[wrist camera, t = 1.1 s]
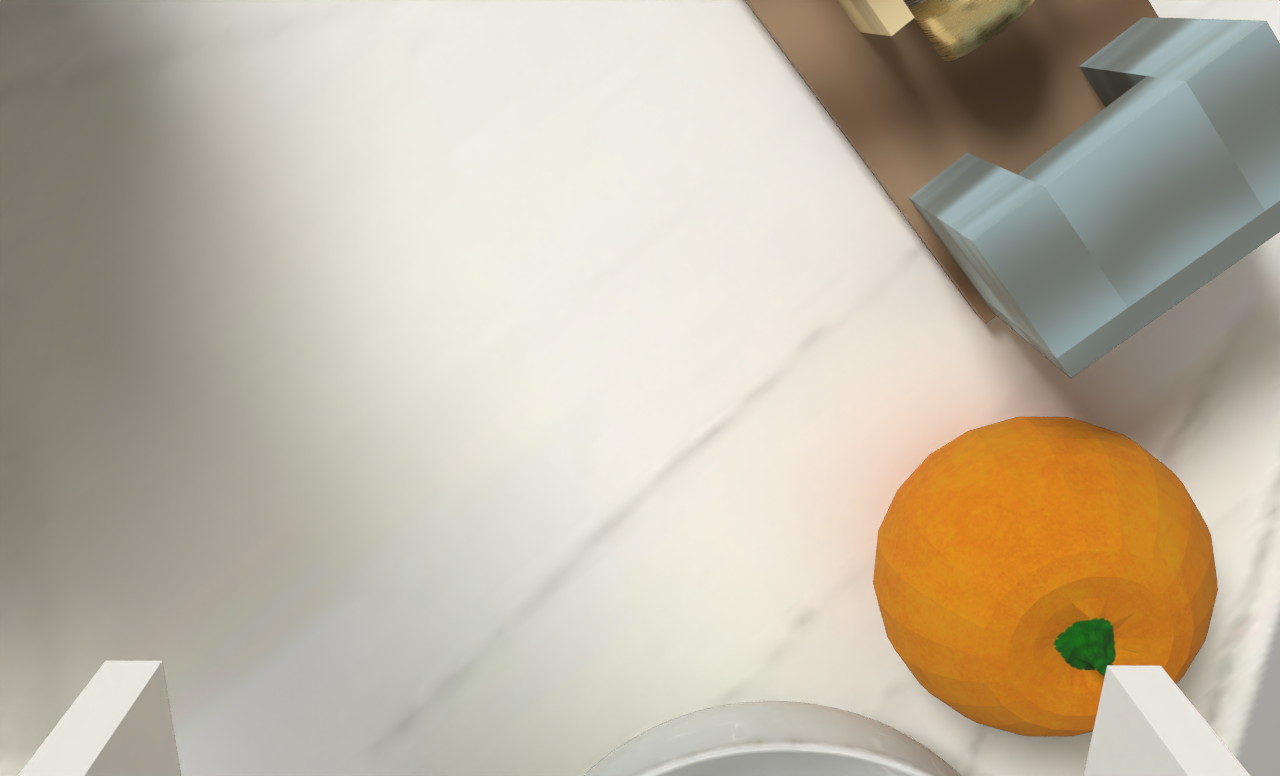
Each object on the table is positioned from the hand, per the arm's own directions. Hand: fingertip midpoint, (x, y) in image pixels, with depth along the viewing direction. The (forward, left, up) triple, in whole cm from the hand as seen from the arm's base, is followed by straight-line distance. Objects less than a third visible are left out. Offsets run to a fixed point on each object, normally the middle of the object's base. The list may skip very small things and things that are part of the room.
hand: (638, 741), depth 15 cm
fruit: (+17, +5, -25) cm, 31 cm away
